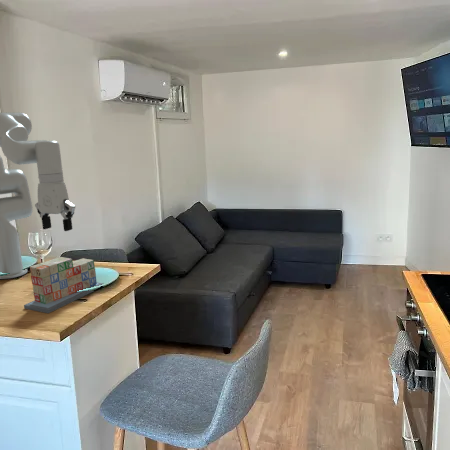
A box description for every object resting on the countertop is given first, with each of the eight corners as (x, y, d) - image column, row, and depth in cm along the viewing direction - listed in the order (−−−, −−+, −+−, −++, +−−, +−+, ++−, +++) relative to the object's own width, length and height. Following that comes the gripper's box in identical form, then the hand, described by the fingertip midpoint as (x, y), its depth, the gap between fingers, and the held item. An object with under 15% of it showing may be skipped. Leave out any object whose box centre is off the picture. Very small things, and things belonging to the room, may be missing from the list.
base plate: (24, 308, 149) (23, 304, 149) (81, 282, 171) (80, 279, 171) (48, 313, 144) (47, 309, 144) (103, 286, 167) (103, 283, 166)
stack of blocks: (86, 281, 169) (82, 250, 166) (97, 284, 165) (93, 252, 162) (34, 301, 152) (29, 265, 149) (45, 304, 148) (40, 268, 145)
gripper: (23, 179, 149) (30, 230, 153) (61, 180, 142) (68, 233, 145) (41, 177, 156) (47, 225, 160) (79, 177, 148) (85, 228, 152)
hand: (57, 229), depth 153 cm, fingers open, 9 cm apart
